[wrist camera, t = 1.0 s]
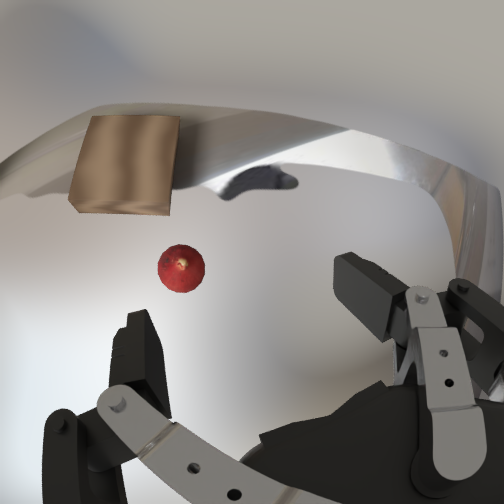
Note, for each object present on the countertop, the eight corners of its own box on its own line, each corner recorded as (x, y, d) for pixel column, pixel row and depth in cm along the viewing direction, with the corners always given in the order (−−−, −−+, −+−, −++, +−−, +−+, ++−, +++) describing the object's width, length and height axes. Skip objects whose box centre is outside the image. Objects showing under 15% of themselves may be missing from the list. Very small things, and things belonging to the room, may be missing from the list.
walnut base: (78, 212, 34) (67, 199, 29) (98, 134, 37) (92, 116, 32) (169, 215, 37) (168, 202, 33) (178, 135, 41) (180, 116, 36)
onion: (152, 283, 35) (146, 275, 27) (170, 245, 37) (168, 227, 29) (192, 301, 36) (196, 297, 28) (208, 262, 38) (216, 249, 30)
